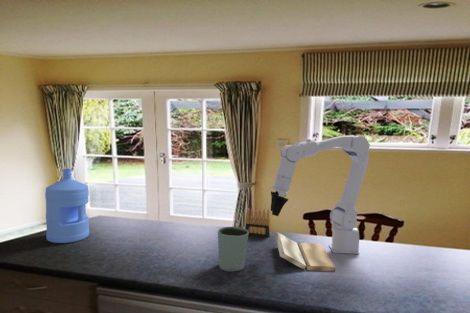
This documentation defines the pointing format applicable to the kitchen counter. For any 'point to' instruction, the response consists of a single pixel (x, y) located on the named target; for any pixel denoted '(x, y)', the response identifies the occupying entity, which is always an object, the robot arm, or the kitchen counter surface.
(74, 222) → the water jug
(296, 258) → the plank
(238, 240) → the green cup
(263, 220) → the ammunition clip
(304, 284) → the kitchen counter surface
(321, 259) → the laid plank
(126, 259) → the kitchen counter surface
